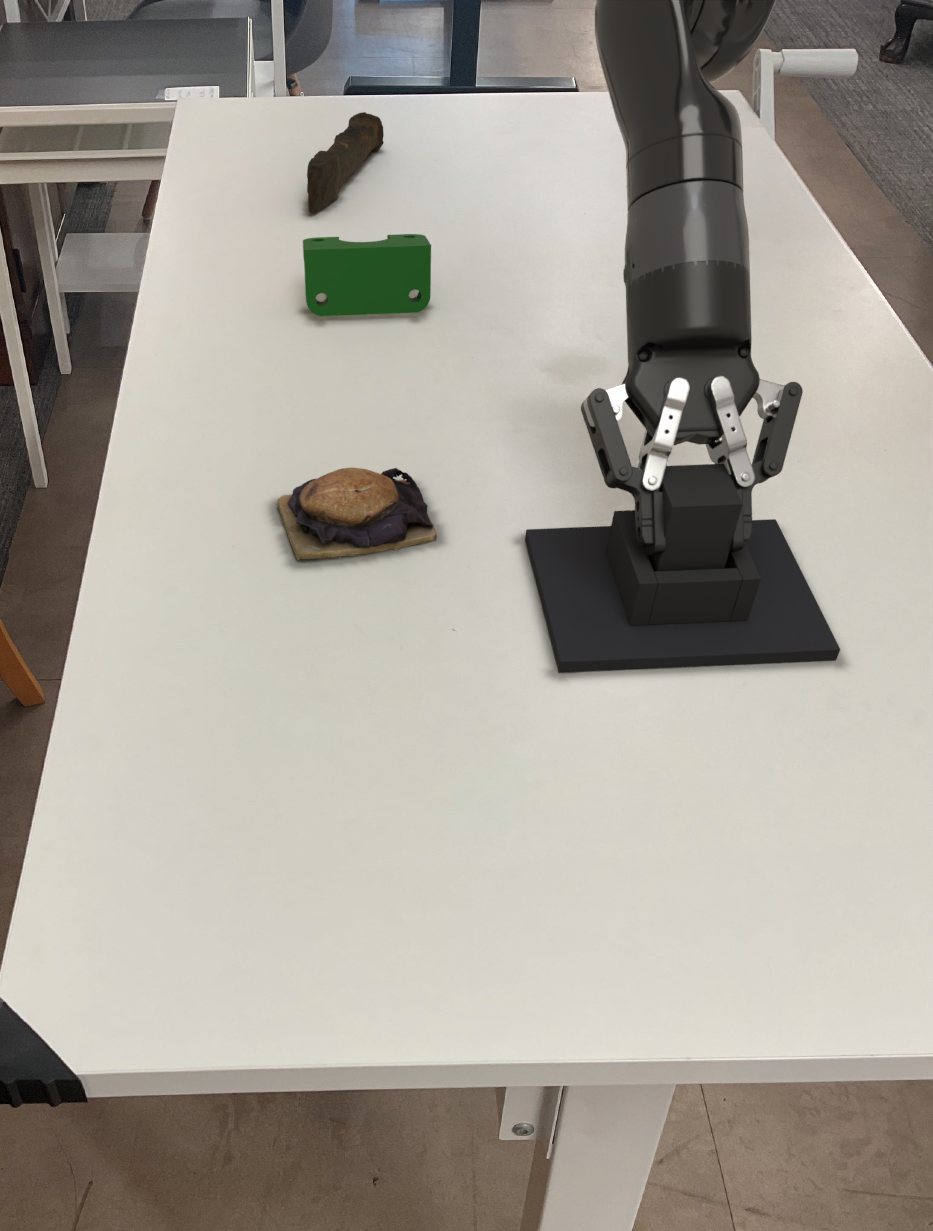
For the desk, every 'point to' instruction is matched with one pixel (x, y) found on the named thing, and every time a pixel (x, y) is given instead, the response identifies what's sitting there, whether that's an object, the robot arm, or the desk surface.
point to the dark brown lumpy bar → (342, 159)
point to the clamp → (367, 275)
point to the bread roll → (355, 514)
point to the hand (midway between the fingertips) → (694, 551)
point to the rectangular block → (697, 517)
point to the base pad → (673, 603)
